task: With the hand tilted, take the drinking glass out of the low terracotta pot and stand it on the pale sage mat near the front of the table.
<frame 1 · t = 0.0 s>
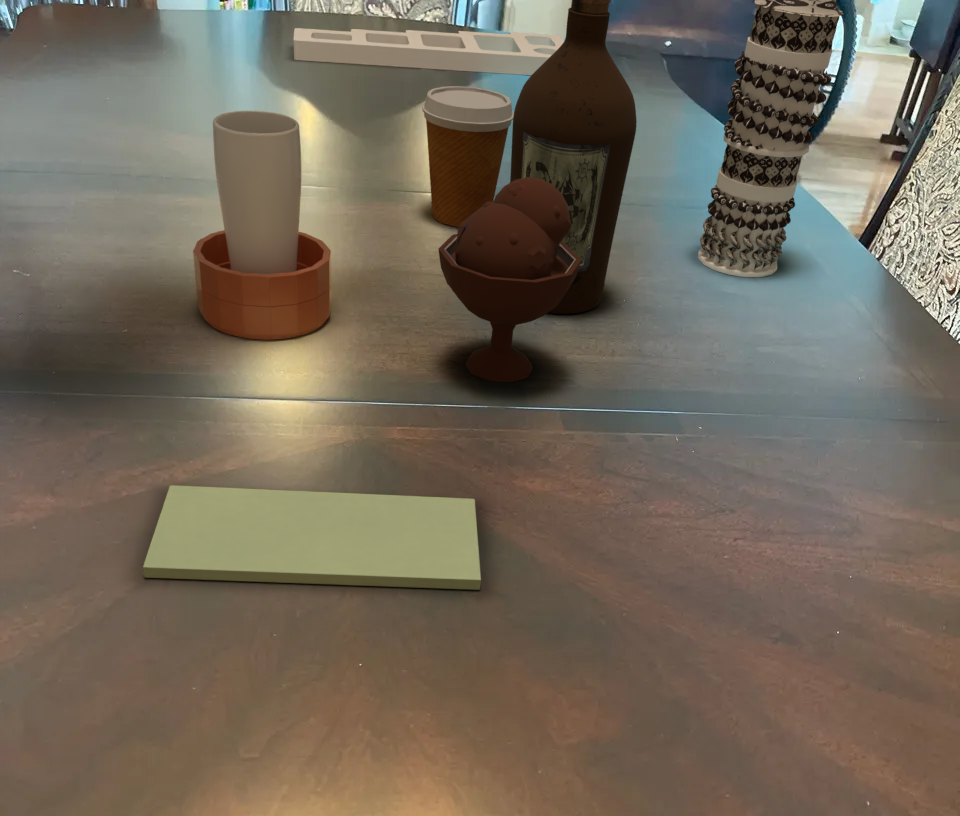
disposable coffee cup: (460, 219, 115), on the table
drinking glass: (265, 309, 92), resting in pot
olive oil: (551, 296, 100), on the table
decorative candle: (736, 263, 111), on the table
holder: (433, 57, 173), on the table
mat: (319, 540, 67), on the table
pot: (266, 313, 92), on the table
ice cream bowl: (498, 369, 88), on the table
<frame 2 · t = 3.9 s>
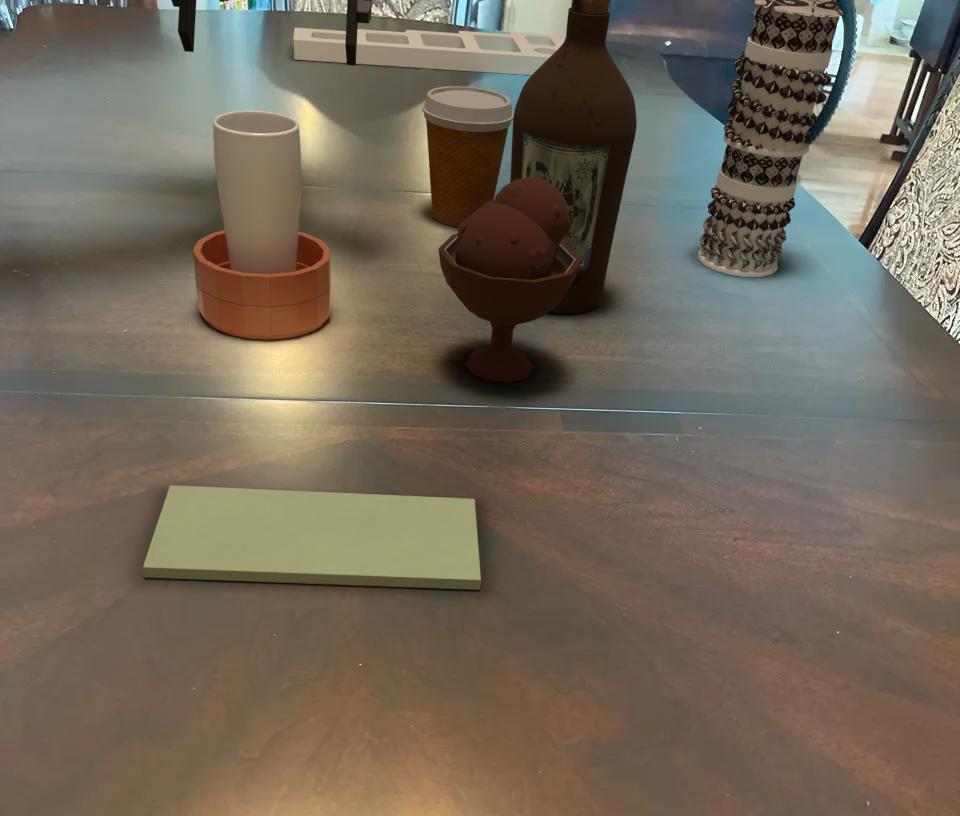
hand: (268, 49, 88), 19 cm above the table, tool tilted 45°, fingers open, 13 cm apart
nothing on the table moved.
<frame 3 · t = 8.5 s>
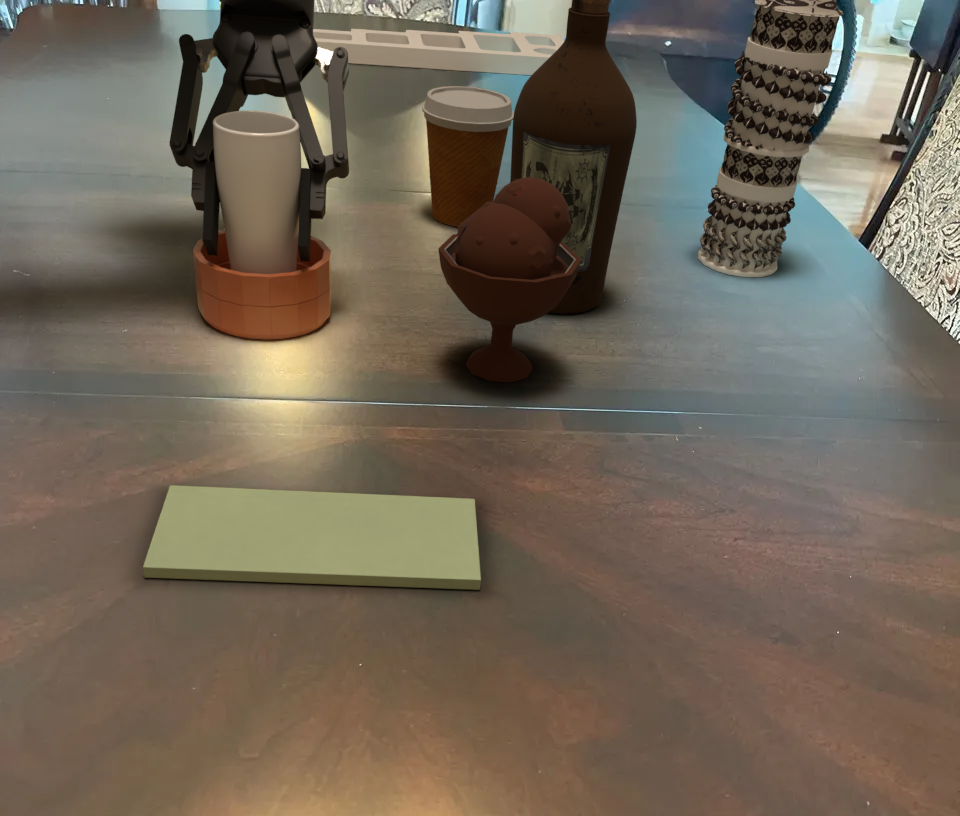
hand: (257, 250, 85), 7 cm above the table, tool tilted 45°, fingers closed on drinking glass, 7 cm apart
drinking glass: (265, 309, 92), resting in pot, touching gripper
everything else where it was.
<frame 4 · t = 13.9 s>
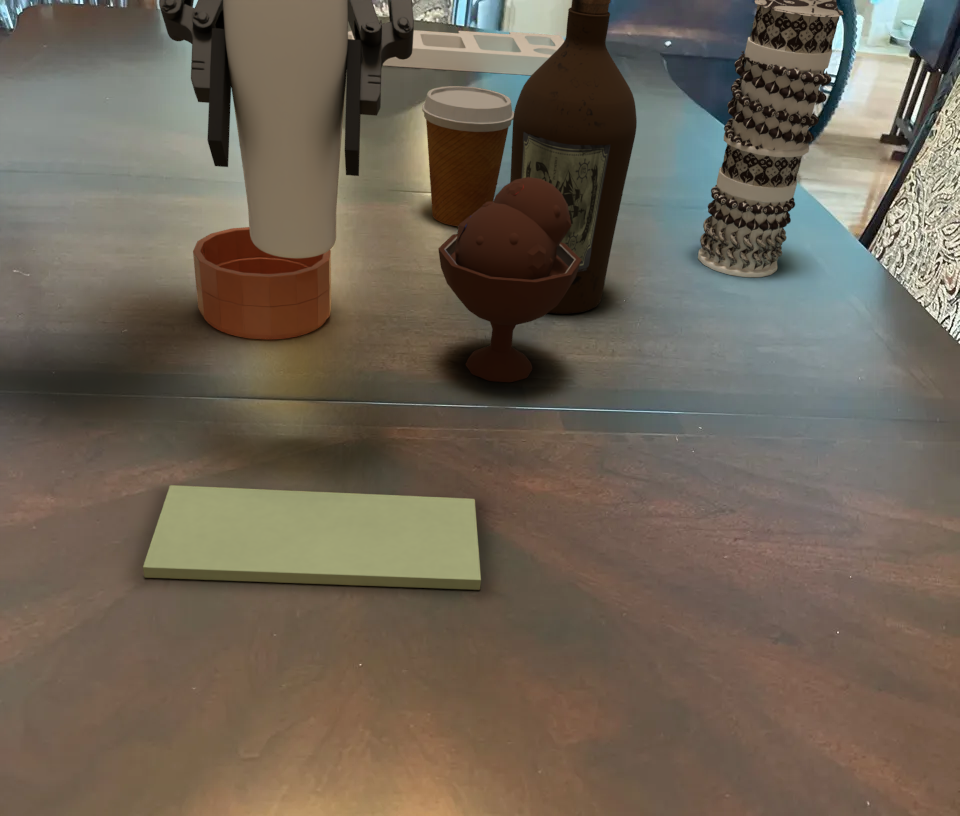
hand: (285, 158, 59), 20 cm above the table, tool tilted 45°, fingers closed on drinking glass, 7 cm apart
drinking glass: (293, 249, 66), point 14 cm above the table, touching gripper
everything else where it was.
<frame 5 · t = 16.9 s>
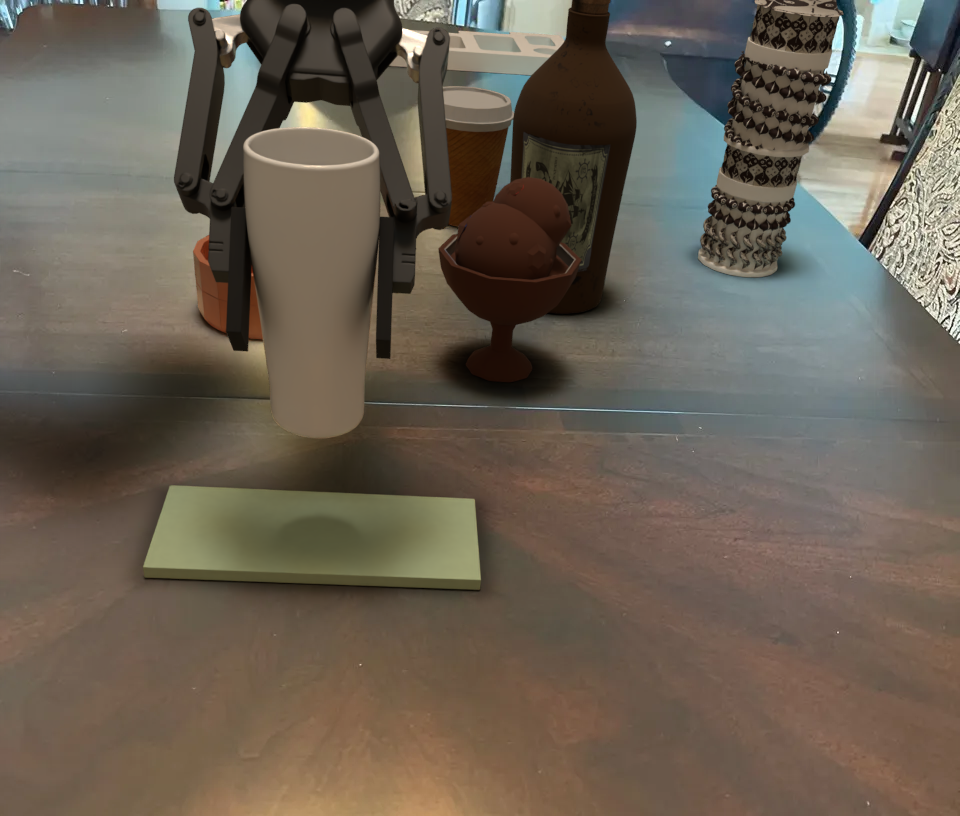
hand: (310, 345, 54), 15 cm above the table, tool tilted 45°, fingers closed on drinking glass, 7 cm apart
drinking glass: (318, 422, 61), point 8 cm above the table, touching gripper
everything else where it was.
when the fingers open (7 cm above the table, at t = 19.4 s): drinking glass stays where it is, resting on mat.
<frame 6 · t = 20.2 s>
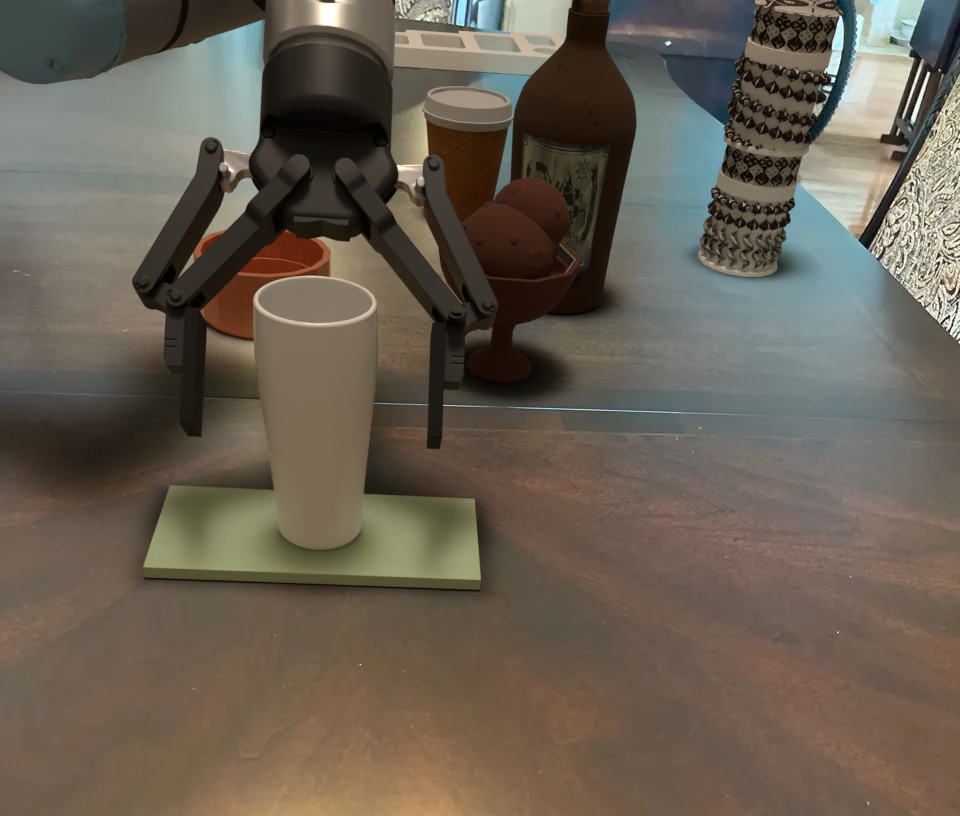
hand: (313, 437, 59), 9 cm above the table, tool tilted 45°, fingers open, 13 cm apart
drinking glass: (320, 532, 66), point 1 cm above the table, touching mat
everything else where it was.
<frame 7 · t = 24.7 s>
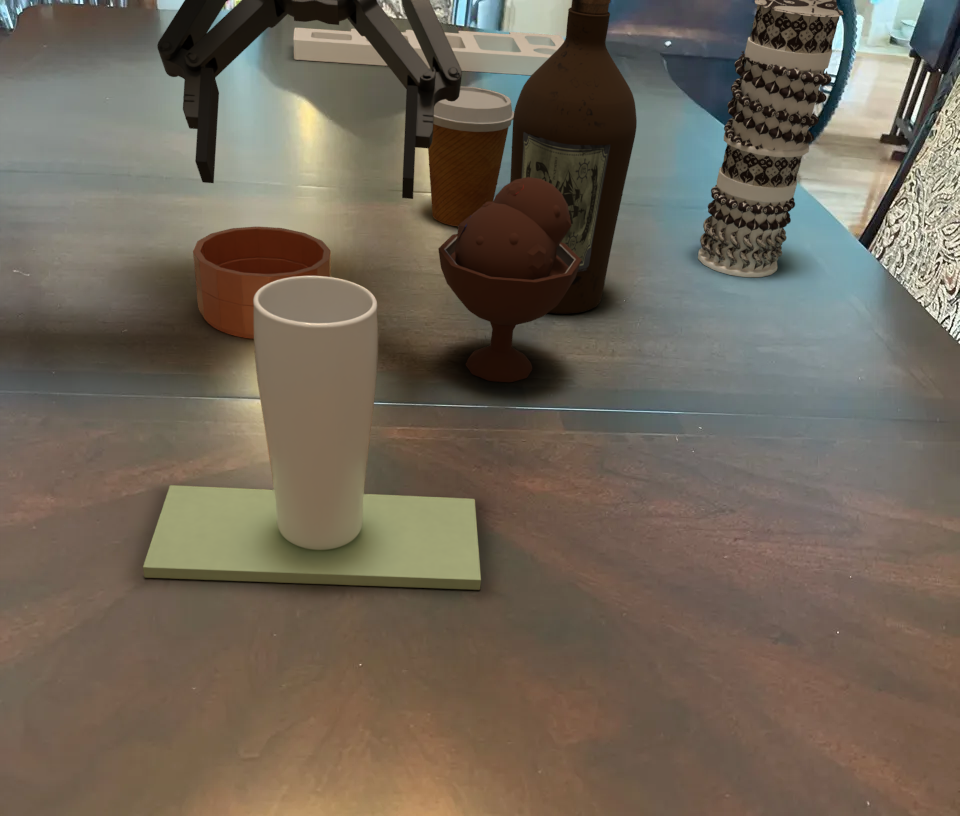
hand: (307, 181, 71), 16 cm above the table, tool tilted 45°, fingers open, 13 cm apart
nothing on the table moved.
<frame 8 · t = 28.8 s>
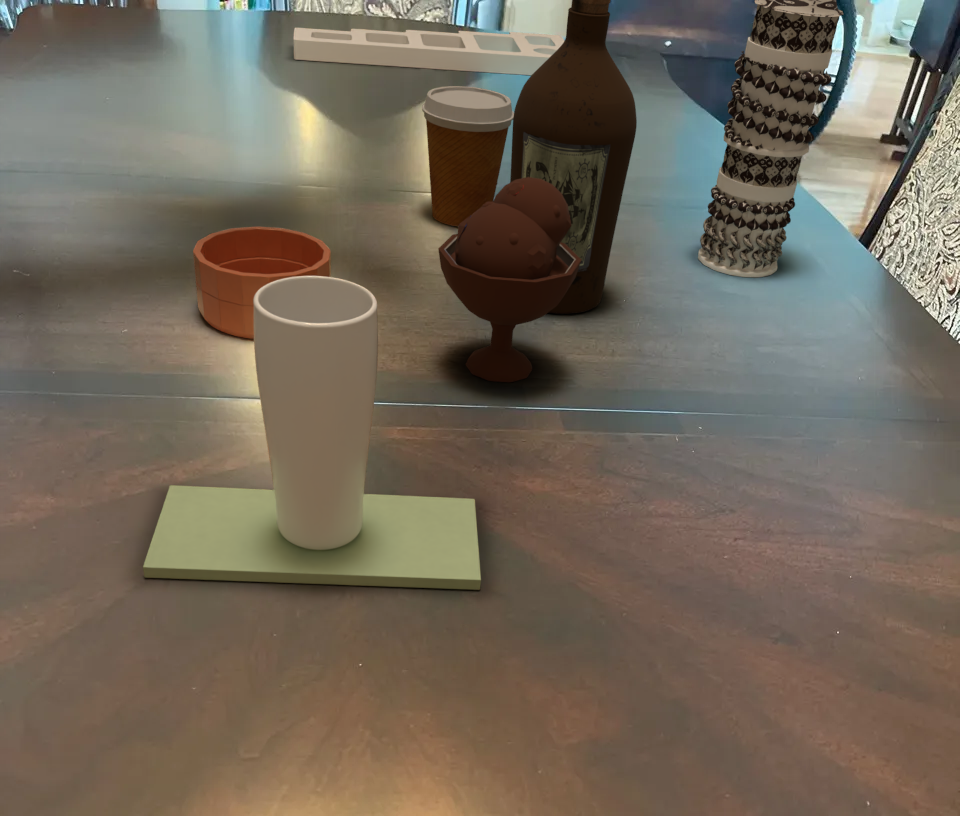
nothing on the table moved.
at the end: drinking glass inside the target area on the mat (0.1 cm from its centre), point 0.6 cm above the mat's base; drinking glass tilted 0° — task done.
